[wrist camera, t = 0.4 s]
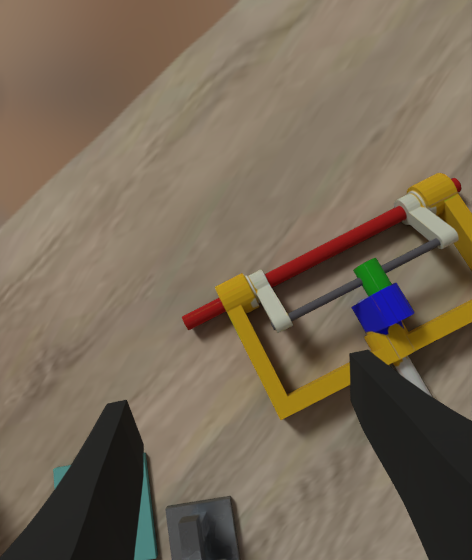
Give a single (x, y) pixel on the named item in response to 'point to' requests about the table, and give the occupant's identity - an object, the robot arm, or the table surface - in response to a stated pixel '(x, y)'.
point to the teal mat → (146, 530)
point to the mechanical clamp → (371, 275)
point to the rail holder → (203, 530)
